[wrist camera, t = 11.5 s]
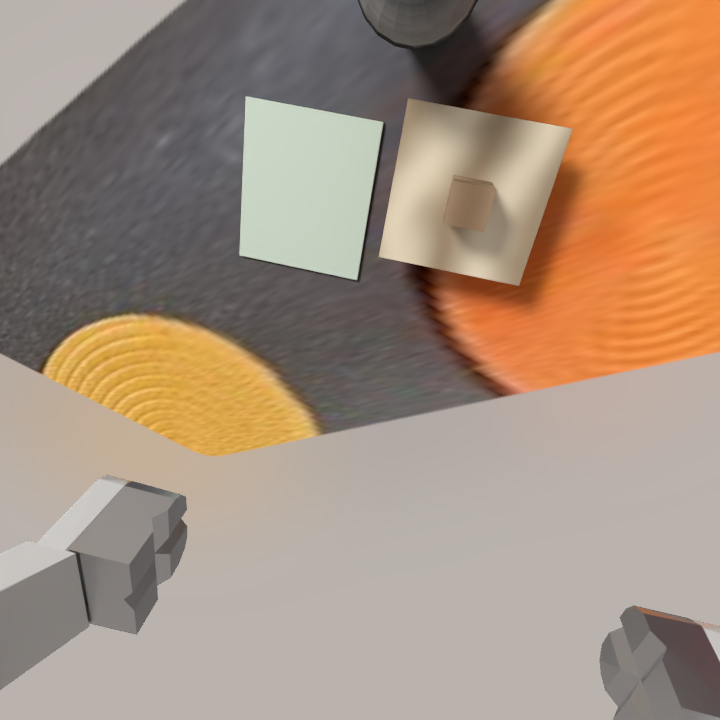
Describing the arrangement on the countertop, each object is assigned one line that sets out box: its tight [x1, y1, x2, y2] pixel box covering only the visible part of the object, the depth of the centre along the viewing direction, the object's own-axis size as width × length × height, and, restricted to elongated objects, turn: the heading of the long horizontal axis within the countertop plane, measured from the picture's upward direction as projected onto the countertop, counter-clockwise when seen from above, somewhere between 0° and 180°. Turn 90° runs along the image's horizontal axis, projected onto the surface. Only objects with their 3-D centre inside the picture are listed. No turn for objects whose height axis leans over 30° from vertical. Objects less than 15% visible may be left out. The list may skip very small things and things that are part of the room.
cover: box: [379, 98, 572, 286], centre depth 36 cm, size 12×12×5 cm
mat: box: [240, 96, 384, 280], centre depth 44 cm, size 12×14×1 cm
